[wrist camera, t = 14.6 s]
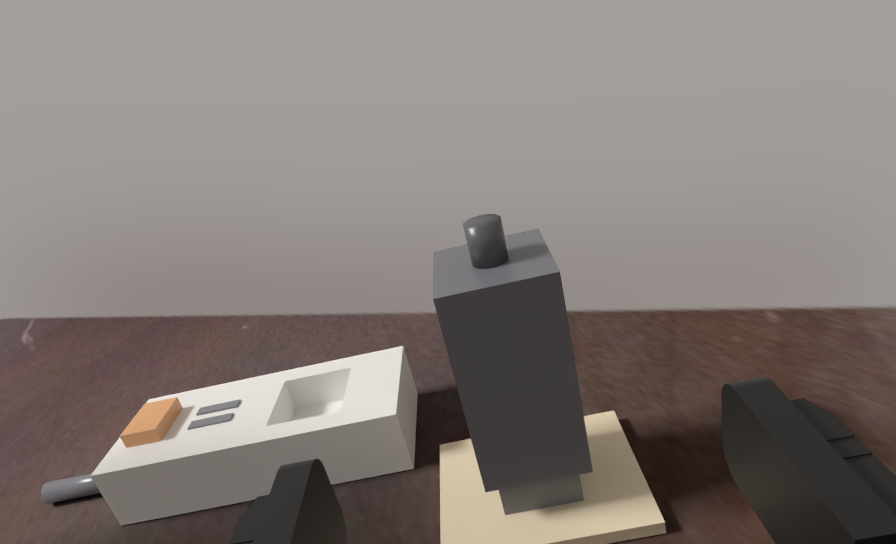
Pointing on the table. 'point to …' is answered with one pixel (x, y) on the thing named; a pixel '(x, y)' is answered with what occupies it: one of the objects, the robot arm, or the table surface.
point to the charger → (513, 364)
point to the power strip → (256, 437)
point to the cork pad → (558, 527)
